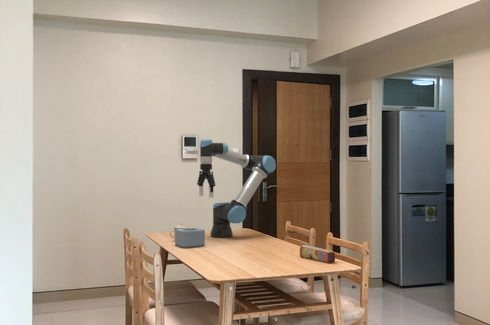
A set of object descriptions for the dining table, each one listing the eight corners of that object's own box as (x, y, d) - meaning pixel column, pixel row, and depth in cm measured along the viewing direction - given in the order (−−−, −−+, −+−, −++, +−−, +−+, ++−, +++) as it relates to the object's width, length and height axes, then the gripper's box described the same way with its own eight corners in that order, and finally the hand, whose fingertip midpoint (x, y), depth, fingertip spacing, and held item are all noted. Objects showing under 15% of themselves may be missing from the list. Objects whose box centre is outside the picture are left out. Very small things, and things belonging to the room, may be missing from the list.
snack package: (336, 262, 264) (336, 249, 264) (327, 264, 260) (327, 250, 260) (307, 256, 281) (307, 244, 281) (298, 257, 277) (298, 245, 277)
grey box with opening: (195, 243, 319) (195, 227, 319) (204, 246, 309) (204, 229, 309) (175, 245, 312) (175, 229, 312) (183, 248, 302) (183, 231, 301)
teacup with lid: (187, 239, 334) (187, 222, 334) (189, 242, 325) (189, 223, 325) (168, 240, 331) (169, 222, 331) (170, 242, 322) (170, 224, 322)
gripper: (192, 163, 335) (192, 195, 336) (210, 163, 314) (210, 198, 315) (202, 163, 339) (202, 195, 340) (220, 163, 318) (220, 197, 319)
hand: (206, 196), depth 327 cm, fingers open, 13 cm apart
